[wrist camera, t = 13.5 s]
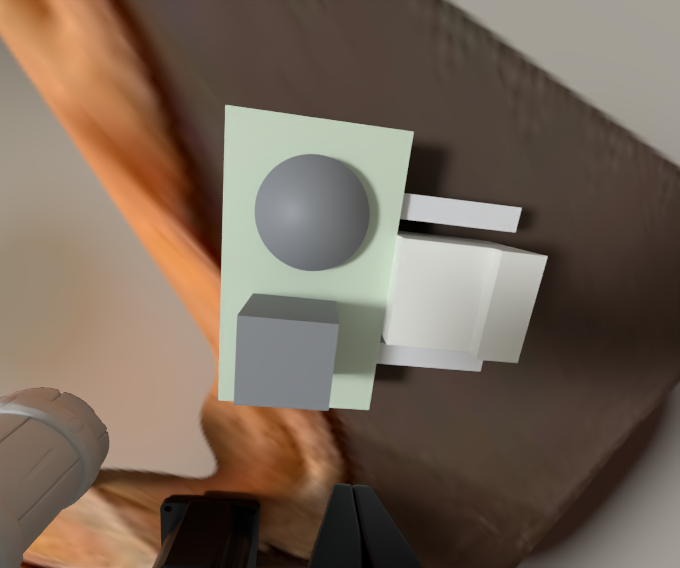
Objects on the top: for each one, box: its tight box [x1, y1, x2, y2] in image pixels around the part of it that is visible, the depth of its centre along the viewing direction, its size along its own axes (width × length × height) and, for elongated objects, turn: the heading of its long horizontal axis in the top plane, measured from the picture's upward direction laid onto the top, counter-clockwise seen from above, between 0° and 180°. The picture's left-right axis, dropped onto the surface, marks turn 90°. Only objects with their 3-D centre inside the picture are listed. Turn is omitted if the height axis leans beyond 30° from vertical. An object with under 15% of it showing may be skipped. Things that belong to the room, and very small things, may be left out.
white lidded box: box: [381, 231, 548, 363], centre depth 16 cm, size 5×6×5 cm
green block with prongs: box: [218, 105, 522, 411], centre depth 16 cm, size 14×14×6 cm
